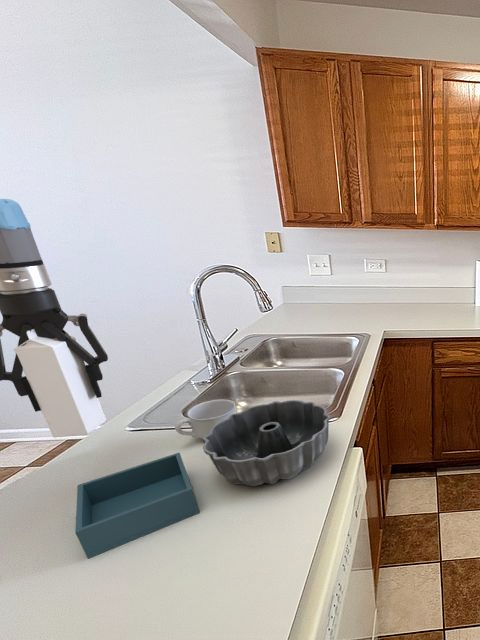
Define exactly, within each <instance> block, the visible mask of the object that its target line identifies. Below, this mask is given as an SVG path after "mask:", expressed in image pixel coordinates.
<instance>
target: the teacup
mask: <svg viewBox="0 0 480 640" xmlns="http://www.w3.org/2000/svg"><path fill="white" fill-rule="evenodd" d="M236 406H237V405H236V403H235V401H233V400H230V399H223V398H221V399H212V400H207V401H204V402H201V403H197V404H196V405H194V406H192V407H191V408H190V409H189V410H188V411H187V414H186V415H187V417H188V418H181V419H179V420H178V421H177V422H176V423H175V424H174V425H175V426H174V429H175V431H176V432H177V433H178V434H179V435H182V436H189V437H190V436H191V437H193V438H199V439H202V440H203V437H205V436H206V435H208V434H209V433H210V430H211V428H212V427H213V426H214V425H216V424H217V423H219V422H221V421H223V420H225V419H227V418H228V417H229V416H230V415H231V414H235V413H238V411H237V407H236ZM184 424H188V425H189V426H190V428H191V431H190V430H189V431H186V430H182V429H181V428H182V425H184Z"/></svg>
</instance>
